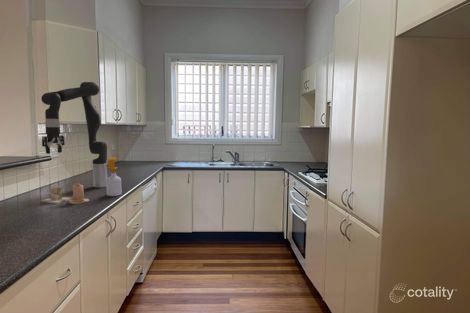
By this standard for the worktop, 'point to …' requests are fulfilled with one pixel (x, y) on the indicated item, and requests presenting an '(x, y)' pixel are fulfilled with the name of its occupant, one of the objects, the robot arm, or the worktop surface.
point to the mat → (78, 202)
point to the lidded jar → (78, 193)
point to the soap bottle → (113, 180)
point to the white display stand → (56, 196)
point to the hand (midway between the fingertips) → (54, 153)
